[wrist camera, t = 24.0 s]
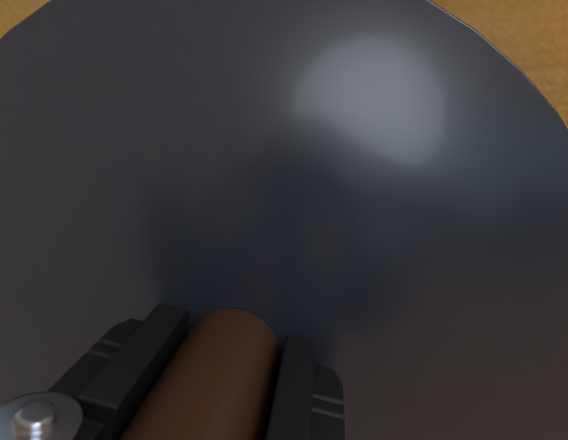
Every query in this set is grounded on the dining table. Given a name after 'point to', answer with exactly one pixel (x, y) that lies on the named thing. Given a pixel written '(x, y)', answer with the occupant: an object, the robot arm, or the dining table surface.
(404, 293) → the lid
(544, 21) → the dining table surface
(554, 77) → the dining table surface
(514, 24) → the dining table surface
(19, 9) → the dining table surface
